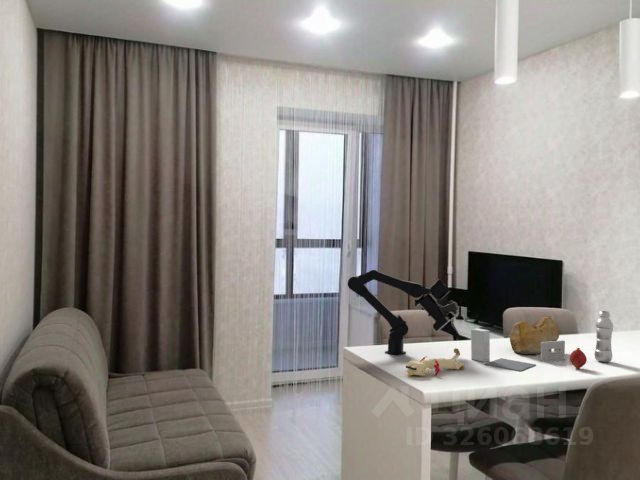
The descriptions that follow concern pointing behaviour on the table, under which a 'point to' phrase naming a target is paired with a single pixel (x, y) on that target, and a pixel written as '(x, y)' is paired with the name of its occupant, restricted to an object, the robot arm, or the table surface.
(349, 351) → the table surface
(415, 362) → the cat figure
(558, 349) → the cassette
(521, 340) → the rough brown rock
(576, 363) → the onion
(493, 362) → the felt mat
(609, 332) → the plastic bottle
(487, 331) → the skincare box
